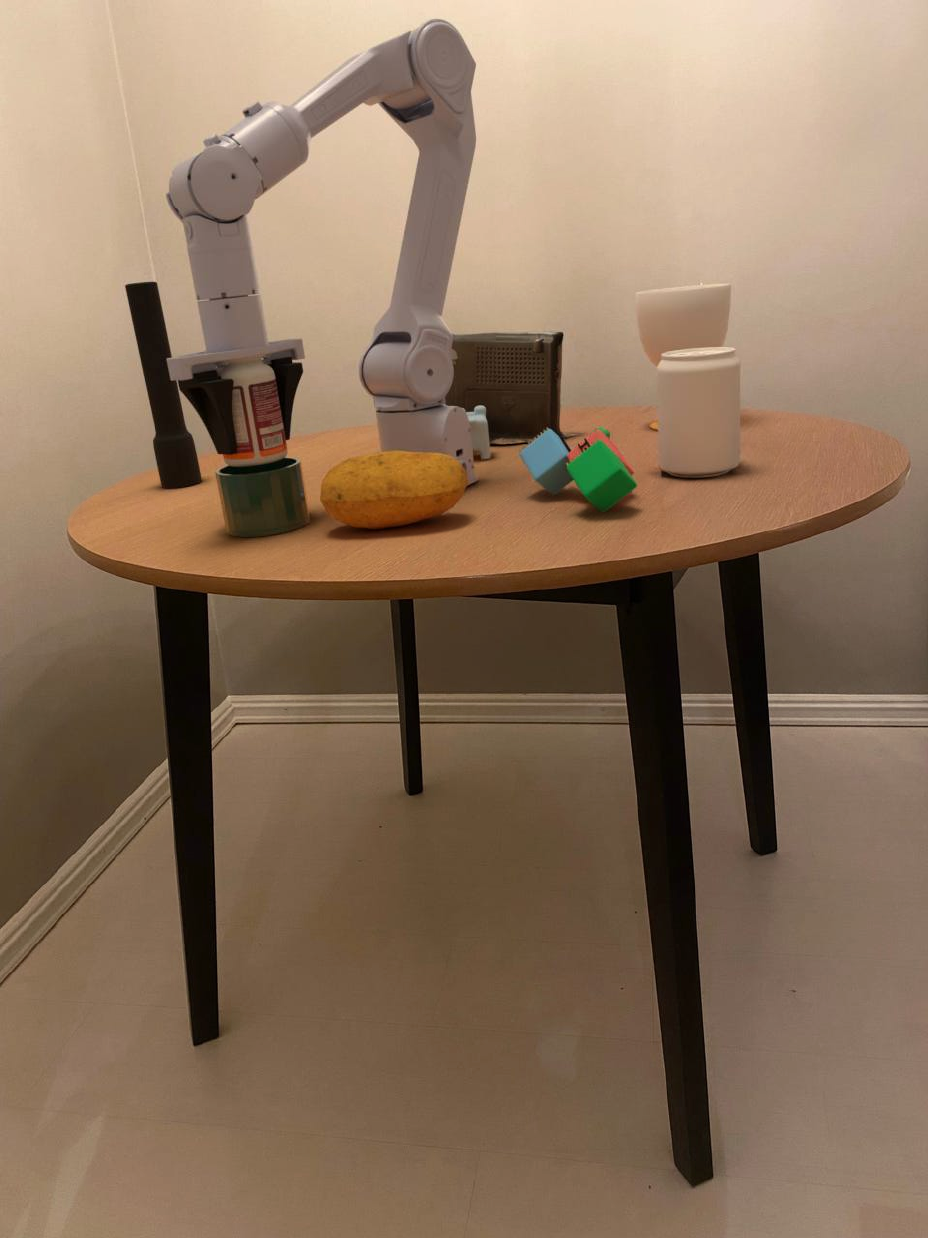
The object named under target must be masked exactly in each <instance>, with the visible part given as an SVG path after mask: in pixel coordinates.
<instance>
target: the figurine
mask: <svg viewBox="0 0 928 1238" xmlns="http://www.w3.org/2000/svg"><path fill="white" fill-rule="evenodd" d="M462 409H463V410H464V411H465V409H464V408H462ZM465 412H466V411H465ZM466 414H467V417H468V419H469V423H470V429H471V439H472V449H473V452H474V451H478V454H479V456H480V459H481V460H490V459H491V447H490V446H491V444H489V432H488V422H487V420H486V408H485V407H484V406H476V407H475V408H474V412H466Z"/></svg>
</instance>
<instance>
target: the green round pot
mask: <svg viewBox="0 0 928 1238" xmlns="http://www.w3.org/2000/svg"><path fill="white" fill-rule="evenodd" d="M214 474H215V480H216V485H217V490H218V495H219V500H220V505H221V506H220V507H221V512H222V516H223V521H224V527H225V530H226V533H227V535H229V536H233V537H238V538H258V537H259V538H260V537H266V536H267V537H268V536H274V535H279V534H285V533H289V532H292V531H295V530H297V529H300V528H302V527H304V526H307V525H308V524H309V523H310V521H311V517H310V509H309V503H308V497H307V492H306V485H305V477H304V472H303V465H302V460H301V459H300V458H297V457H292V456H286V457H284V458H283V459H281V460H278V461H275V462H272V463H268V464H262V465H255V466H243V467H234V466H229V465H227V464H226V465H223V466H221V467H219V468H217V469H216V470H215V471H214Z"/></svg>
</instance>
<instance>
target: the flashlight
mask: <svg viewBox="0 0 928 1238" xmlns="http://www.w3.org/2000/svg"><path fill="white" fill-rule="evenodd" d="M124 289H125V293H126V298H127V302H128V308H129V312H130V316H131V321H132V327H133V331H134V336H135V340H136V345H137V350H138V355H139V359H140V364H141V369H142V374H143V379H144V383H145V387H146V392H147V397H148V401H149V407H150V412H151V417H152V421H153V427H154V432H155V433H154V434H155V436H154V437H153V439H152V445H153V447H152V448H153V452H154V457H155V463H156V466H157V471H158V476H159V481H160V486H161V488H162V489H179V488H187V487H191V486H195V485H198V484H200V483H202V482H203V478H202V473H201V468H200V467H201V466H200V463H199V458H198V453H197V449H196V444H195V439H194V437H193V434H192V433H191V432H189V430H188V429H187V425H186V421H185V415H184V411H183V405H182V400H181V395H180V389H179V385H178V380H171V379H170V374H169V369H168V364H167V358H172V357H173V354H172V350H171V346H170V340H169V335H168V330H167V325H166V320H165V316H164V311H163V305H162V301H161V296H160V295H161V294H160V291H159V290H160V289H159V285H158V282H157V281H141V282H133V283H127V284H125V285H124Z"/></svg>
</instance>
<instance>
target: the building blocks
mask: <svg viewBox="0 0 928 1238" xmlns="http://www.w3.org/2000/svg"><path fill="white" fill-rule="evenodd" d="M546 429H547V430H546V431H545V430H543V432H544V433H543V434H542V432H540V434H541V435H540V436H539V435H537V437H538V438H537V439H536V437H534V439H535V440H534V441H533V440H531V442H527V444H525V445H524V446H525V447H523V446H522V447H521V449H519V450H518V452H519V457H520V458H521V460H522V462H523V464H524V465H525V467H526V468H527V471H528V472H529V473H530V475H531V476H532V479H533V480H534V481H535V482H536V483H537V484H539V485H540V486H541V487H542V488H543V489H545V491H547V492H548V493H550V494H551V495H556V494H558V493H559V492H560V491H561V490H563V489H564V488H566V487H567V486H568V485H569V484H570V483H572V482H574V483H575V485H576V486H577V488H578V489H579V491H580V493H581V494H582V495H583V497H584V498H585V499H586V500H587V501H588V502H590V503H591V504H592V505H593V506H595V507H596V509H598V510H599V511H600V512H602V513H604V512H606V511H607V510H609V509H610V508H611V507H613V506H614V505H615V504H617V503H618V502H619V501H621V500H622V499H623V498H625V497H626V496H627V495H628V494H630V493H631V492H632V491H633V490H635V489H636V488H637V487H638V484H637V482H636V481H635V479H634V477H633V475H634V474H635V472H634V470H633V468H632V467H631V465H630V464H629V463H628V461H627V459H626V458H625V456H624V455H623V454H622V453H621V451H620V449H619V448H618V446H617V445H616V444H615V443H614V442H613V441H612V440H611V439H610V437H611V432H610V431H609V430H608V429H606V428H604V427H601V426H597V427H595V428H594V430H593V433H591V434H590V435H589V436H588V437H586V438H583V441H581V442H580V443H577V445H576V447H574V448H573V449H572V448H571V447H570V446H569V444H568V443H567V442H566V440H565V438H563V437H561V436H560V435H559V433H558V435H557V434H556V433H555V432H553V431H552V430H551V429H549V428H548V427H547V428H546Z"/></svg>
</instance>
